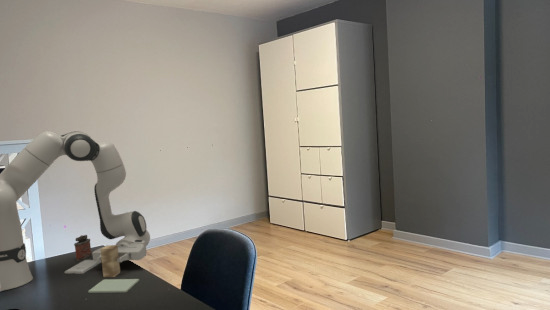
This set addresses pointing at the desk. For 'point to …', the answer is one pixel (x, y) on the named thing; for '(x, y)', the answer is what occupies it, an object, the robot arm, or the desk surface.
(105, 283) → the mat
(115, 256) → the oak block
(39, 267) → the desk surface
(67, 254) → the desk surface
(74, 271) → the external hard drive
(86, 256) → the lighter
